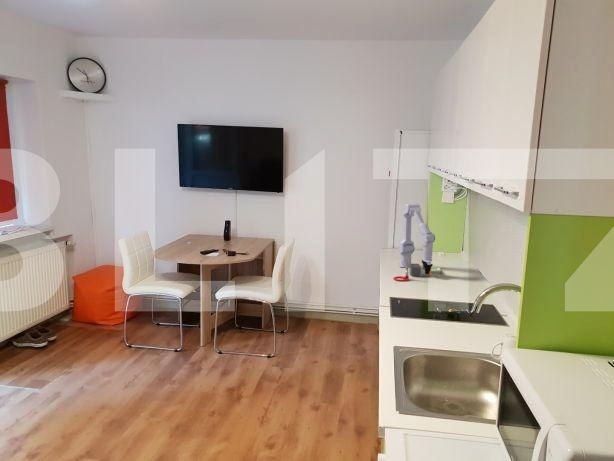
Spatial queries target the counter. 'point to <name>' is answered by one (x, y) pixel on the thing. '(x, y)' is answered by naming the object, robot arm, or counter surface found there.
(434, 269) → the tray
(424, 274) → the pin
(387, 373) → the counter surface
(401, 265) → the robot arm
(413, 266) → the bracket
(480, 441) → the counter surface
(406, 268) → the tow hook
